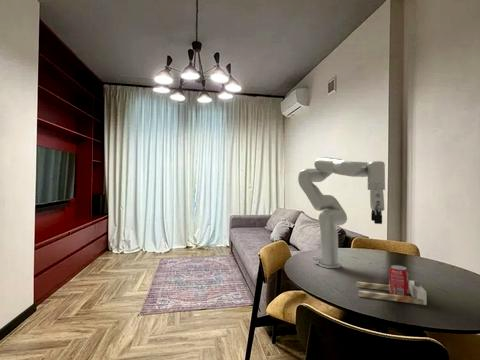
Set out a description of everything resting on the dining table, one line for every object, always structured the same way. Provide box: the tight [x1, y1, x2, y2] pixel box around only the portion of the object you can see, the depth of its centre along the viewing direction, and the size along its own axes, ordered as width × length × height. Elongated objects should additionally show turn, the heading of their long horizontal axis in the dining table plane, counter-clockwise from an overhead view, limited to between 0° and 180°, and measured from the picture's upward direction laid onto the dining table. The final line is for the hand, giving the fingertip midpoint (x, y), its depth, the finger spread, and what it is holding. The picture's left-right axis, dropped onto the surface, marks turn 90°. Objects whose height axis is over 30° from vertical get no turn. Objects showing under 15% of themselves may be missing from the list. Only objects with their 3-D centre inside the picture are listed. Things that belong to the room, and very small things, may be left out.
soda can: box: [388, 264, 410, 296], centre depth 111 cm, size 7×7×12 cm
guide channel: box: [355, 281, 425, 306], centre depth 112 cm, size 23×12×2 cm, turn 71°
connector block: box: [409, 279, 428, 306], centre depth 109 cm, size 3×12×7 cm, turn 161°
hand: (376, 222), depth 128 cm, fingers open, 9 cm apart
